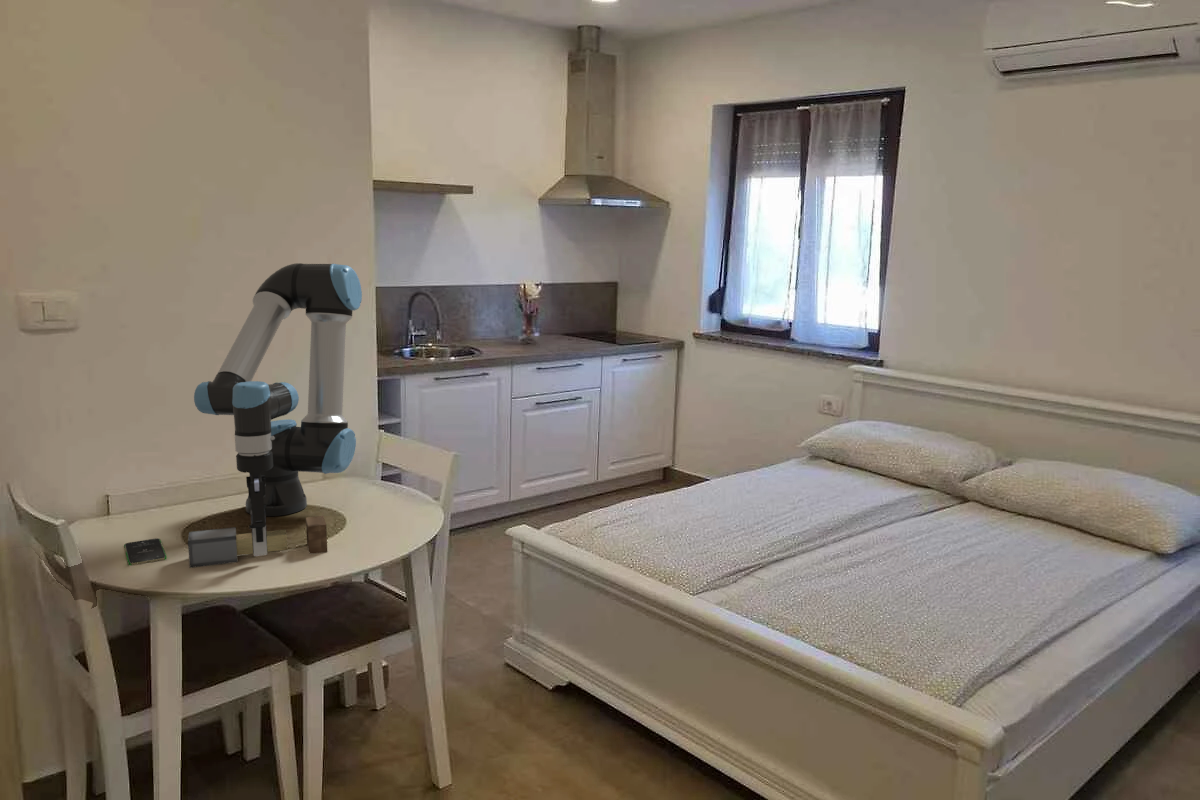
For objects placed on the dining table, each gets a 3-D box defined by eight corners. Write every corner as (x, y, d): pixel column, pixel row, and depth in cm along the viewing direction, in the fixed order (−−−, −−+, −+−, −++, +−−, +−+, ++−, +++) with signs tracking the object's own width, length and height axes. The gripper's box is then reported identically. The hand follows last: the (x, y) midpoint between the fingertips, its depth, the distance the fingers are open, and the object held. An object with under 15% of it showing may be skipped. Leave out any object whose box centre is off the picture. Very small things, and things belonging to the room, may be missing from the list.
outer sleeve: (189, 567, 186) (187, 541, 184) (191, 557, 191) (189, 532, 190) (237, 562, 189) (235, 536, 188) (237, 552, 195) (235, 527, 194)
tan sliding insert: (197, 560, 187) (194, 520, 185) (197, 554, 191) (195, 515, 189) (287, 549, 194) (285, 511, 192) (286, 544, 198) (284, 506, 196)
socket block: (309, 554, 195) (308, 526, 194) (307, 544, 201) (305, 517, 200) (327, 551, 196) (326, 524, 195) (324, 542, 203) (323, 515, 201)
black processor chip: (128, 563, 186) (123, 543, 198) (128, 567, 186) (123, 546, 198) (167, 557, 190) (159, 537, 202) (167, 561, 190) (160, 541, 202)
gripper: (275, 463, 180) (280, 561, 184) (270, 439, 202) (274, 528, 206) (236, 466, 177) (242, 566, 181) (235, 441, 199) (241, 531, 203)
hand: (259, 546), depth 194 cm, fingers open, 11 cm apart
